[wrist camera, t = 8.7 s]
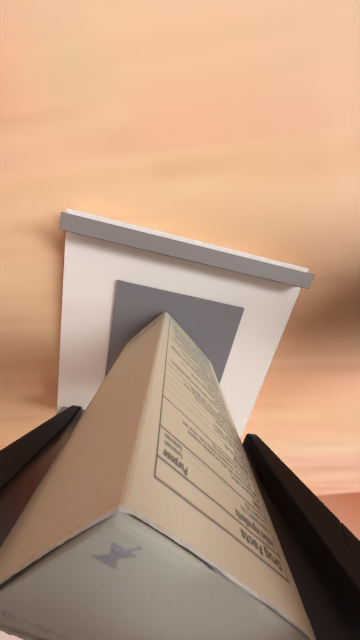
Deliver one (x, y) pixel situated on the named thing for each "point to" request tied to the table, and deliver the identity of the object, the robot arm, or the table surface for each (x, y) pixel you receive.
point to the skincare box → (150, 517)
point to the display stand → (168, 305)
